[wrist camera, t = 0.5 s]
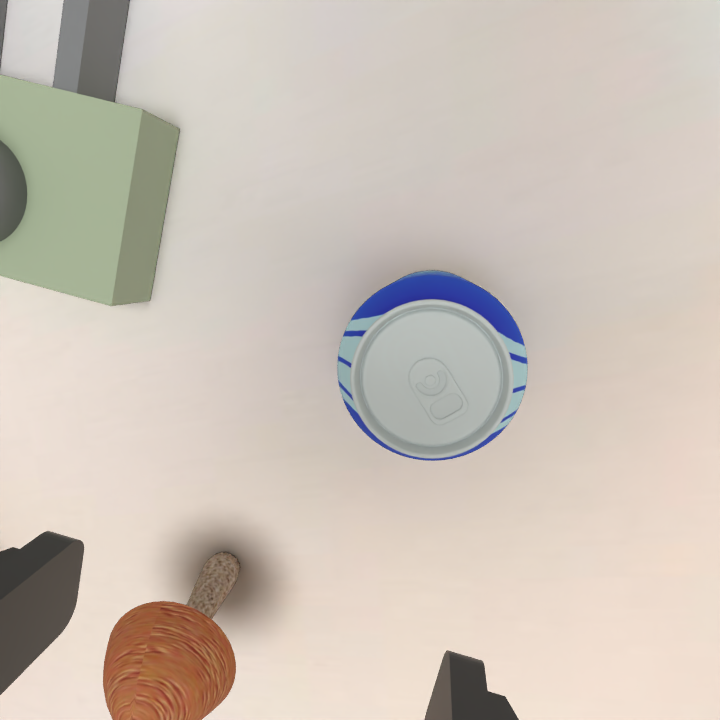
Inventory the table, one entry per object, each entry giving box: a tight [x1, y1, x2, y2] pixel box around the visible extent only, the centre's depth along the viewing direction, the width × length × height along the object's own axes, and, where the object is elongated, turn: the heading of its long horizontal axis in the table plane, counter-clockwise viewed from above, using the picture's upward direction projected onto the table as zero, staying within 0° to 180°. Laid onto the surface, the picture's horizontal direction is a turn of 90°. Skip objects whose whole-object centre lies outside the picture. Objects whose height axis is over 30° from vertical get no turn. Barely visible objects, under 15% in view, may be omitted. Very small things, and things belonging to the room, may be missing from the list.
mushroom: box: [103, 552, 240, 720], centre depth 36 cm, size 8×8×15 cm
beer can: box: [337, 270, 528, 461], centre depth 30 cm, size 8×8×16 cm
